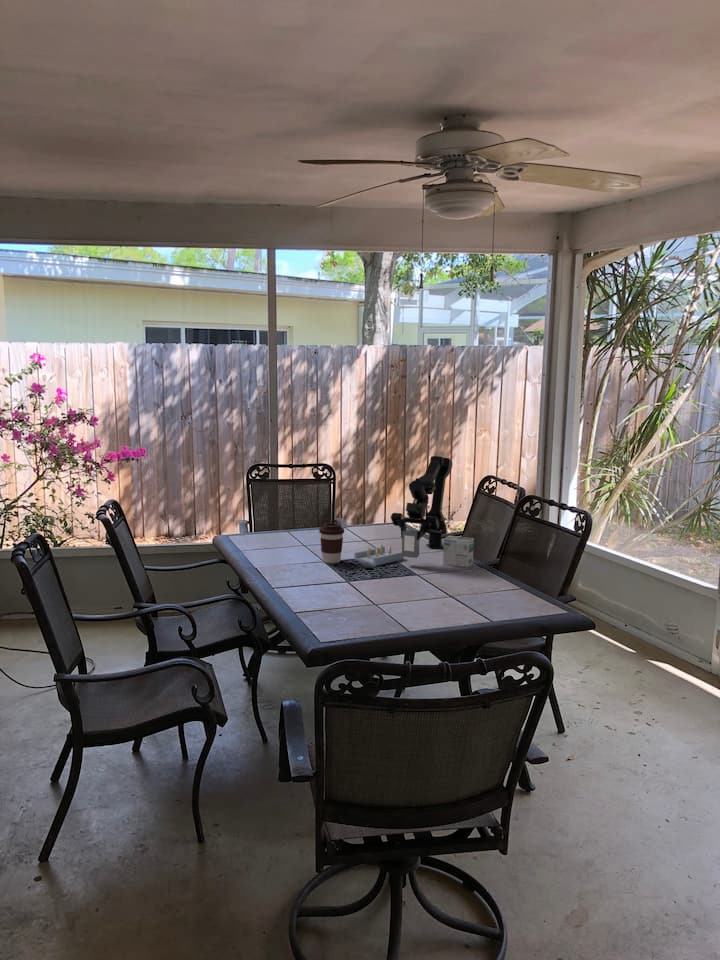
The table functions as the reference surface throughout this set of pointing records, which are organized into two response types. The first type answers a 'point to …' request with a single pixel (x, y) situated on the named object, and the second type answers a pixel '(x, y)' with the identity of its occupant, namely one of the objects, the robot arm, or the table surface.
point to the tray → (377, 556)
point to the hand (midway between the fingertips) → (409, 539)
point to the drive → (410, 543)
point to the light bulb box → (458, 551)
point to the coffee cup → (331, 542)
